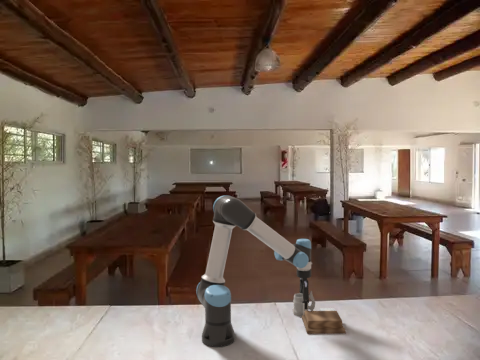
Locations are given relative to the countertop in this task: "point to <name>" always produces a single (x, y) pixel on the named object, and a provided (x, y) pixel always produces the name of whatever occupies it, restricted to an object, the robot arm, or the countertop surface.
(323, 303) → the countertop surface
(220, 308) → the robot arm
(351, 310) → the countertop surface
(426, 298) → the countertop surface
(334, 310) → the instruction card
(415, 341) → the countertop surface
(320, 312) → the plinth
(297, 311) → the mug
